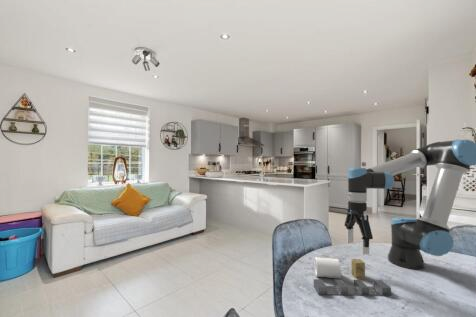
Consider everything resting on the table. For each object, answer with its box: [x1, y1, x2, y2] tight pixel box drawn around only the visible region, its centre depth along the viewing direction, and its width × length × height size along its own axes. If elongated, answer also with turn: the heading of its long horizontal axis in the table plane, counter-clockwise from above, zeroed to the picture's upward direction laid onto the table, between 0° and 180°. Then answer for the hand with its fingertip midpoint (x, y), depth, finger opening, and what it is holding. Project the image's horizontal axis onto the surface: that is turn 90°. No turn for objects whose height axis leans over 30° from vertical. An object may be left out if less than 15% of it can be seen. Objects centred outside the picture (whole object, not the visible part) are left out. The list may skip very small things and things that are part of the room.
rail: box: [313, 278, 392, 297], centre depth 91 cm, size 28×6×3 cm, turn 89°
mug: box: [314, 256, 342, 280], centre depth 105 cm, size 12×10×8 cm
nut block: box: [350, 258, 366, 280], centre depth 103 cm, size 4×4×7 cm
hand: (357, 248), depth 103 cm, fingers open, 13 cm apart
